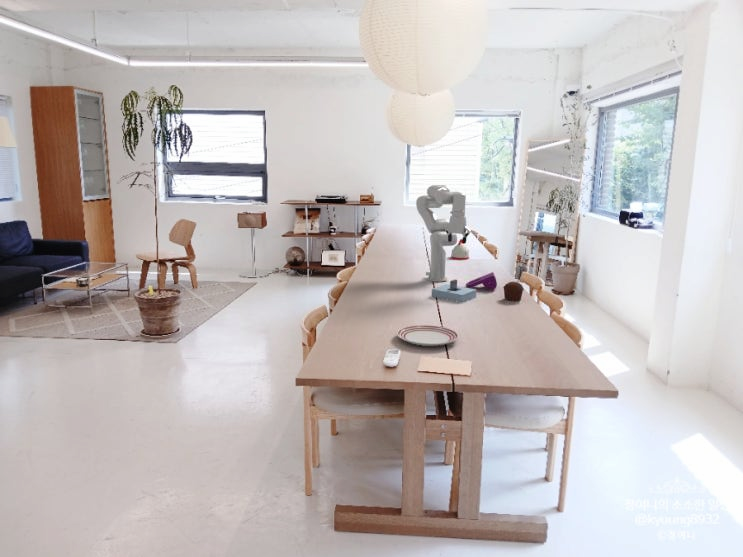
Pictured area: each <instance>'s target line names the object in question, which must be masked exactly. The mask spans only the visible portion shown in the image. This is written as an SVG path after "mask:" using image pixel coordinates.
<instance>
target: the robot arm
mask: <svg viewBox="0 0 743 557" xmlns="http://www.w3.org/2000/svg"><path fill="white" fill-rule="evenodd" d="M426 194H427V195H426ZM426 194H425V195H420V196H419V197H417V199H416V203H415V205H416V206H415V207H416V210H417V212H418V214H419V215H420V217H421V219H422V220H423V222H424V225H425V227H426V229H427V232H429V234H430V236H429V242H430V271H426V272H425V276H427V281H430V282H435V283H437V282H438V283H441V282H443V283H444V282H446V281H448V278H447V277H446V262H447V261H446V259H447V258H446V256H447V253H446V250H445V248H444V247H451V246H452V247H453V246H456V245H457V243H458V236H457V234H459V235H462V238H461V239H462V244H464V245H465V244H466V243H467V238H468V236H469V235H470V233H471V232H472V230H471V229H470V228H469V227H467V218H466V200H467V198H466V194H465V193H464V192H463V193H462V192H459V191H451V190H450V188H449V186H447V185H446V184H445V185H444V184H437V185H436V184H435V185H430V186H428V188H427V190H426ZM443 205H452V206H451V207H452V210H451V211H450V214H451V216H450V218H449V219H447V218H438V217H437V215H436V213H435V212H434V210H433V211H432V210H431V209H440V208H442V207H443Z"/></svg>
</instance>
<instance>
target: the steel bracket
mask: <svg viewBox="0 0 743 557" xmlns="http://www.w3.org/2000/svg"><path fill="white" fill-rule="evenodd" d="M449 285H450V290H451V291H457V286H458V279H453V280H450V283H449Z"/></svg>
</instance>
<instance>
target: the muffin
mask: <svg viewBox="0 0 743 557" xmlns="http://www.w3.org/2000/svg"><path fill="white" fill-rule="evenodd" d="M502 288H503V294H504V296H503V297H504V300H505V301H507V302H519V301H521V300H522V296H523V292H524V286H523V284H521V283H520V282H517V281H509V282H507V283H505V285H504V286H503V287H502Z"/></svg>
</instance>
